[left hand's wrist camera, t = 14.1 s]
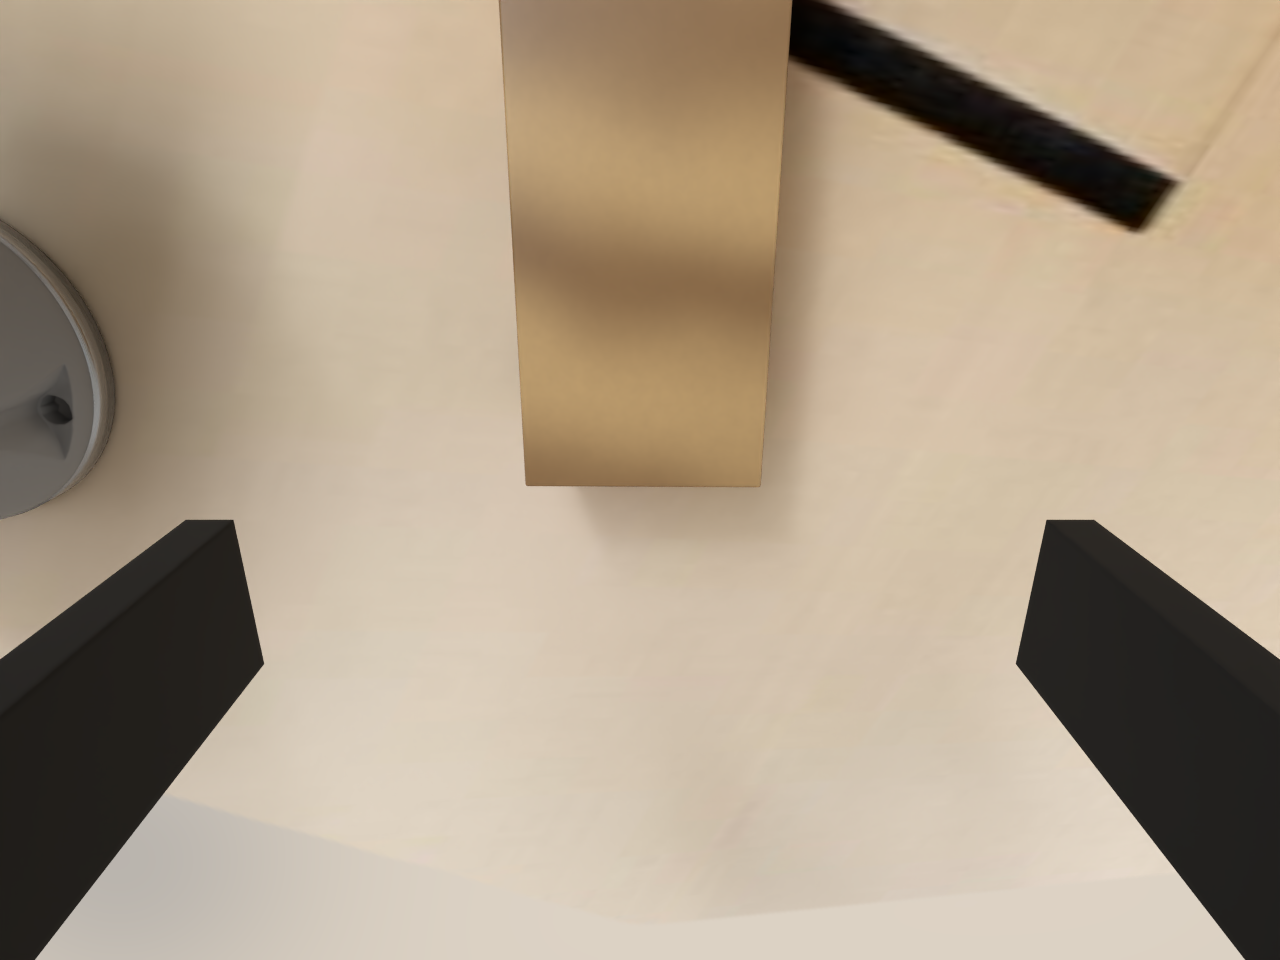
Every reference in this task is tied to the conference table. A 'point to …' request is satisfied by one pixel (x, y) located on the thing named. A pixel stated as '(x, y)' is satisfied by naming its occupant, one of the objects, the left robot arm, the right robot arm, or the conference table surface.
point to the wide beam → (644, 234)
